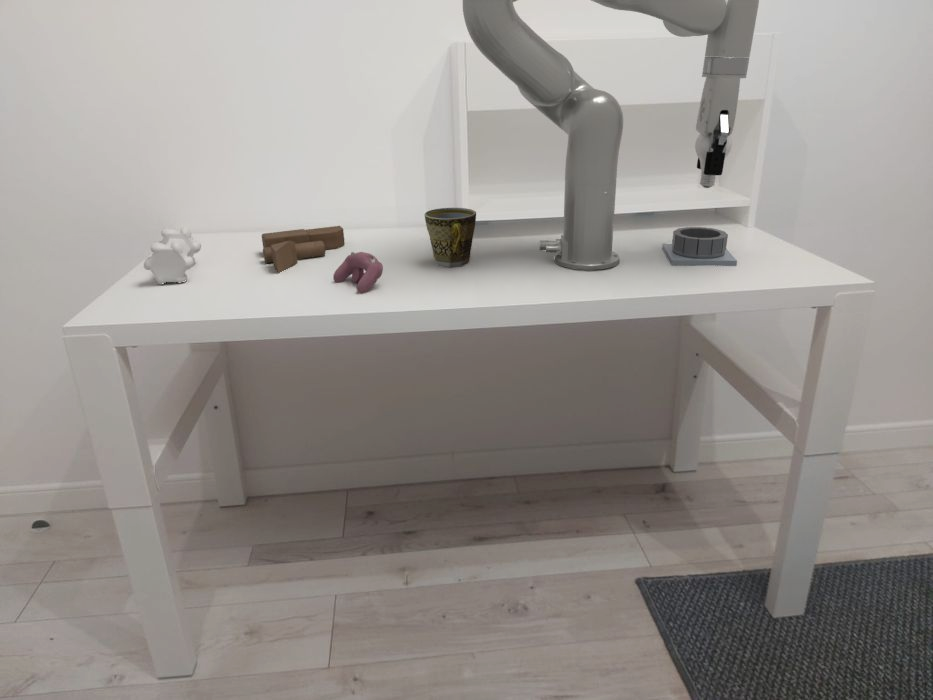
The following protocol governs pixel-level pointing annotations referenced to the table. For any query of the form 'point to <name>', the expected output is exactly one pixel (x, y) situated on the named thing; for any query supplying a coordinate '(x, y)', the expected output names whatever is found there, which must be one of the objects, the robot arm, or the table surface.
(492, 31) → the robot arm
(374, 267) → the video game controller
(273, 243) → the wooden block set
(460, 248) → the ceramic cup
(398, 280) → the table surface
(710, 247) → the socket
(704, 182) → the lightbulb
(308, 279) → the table surface
